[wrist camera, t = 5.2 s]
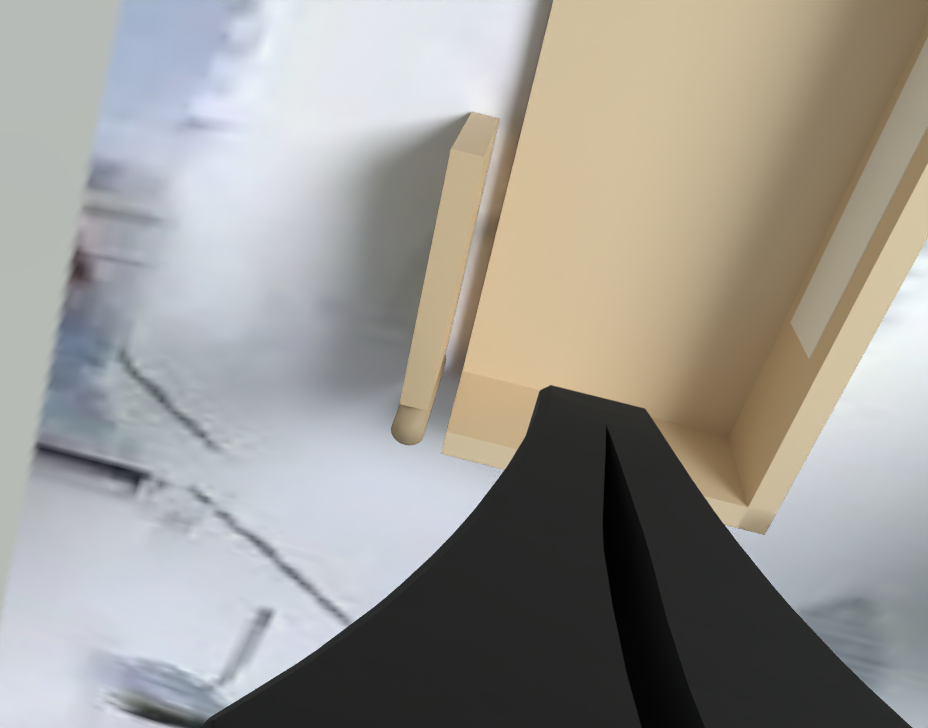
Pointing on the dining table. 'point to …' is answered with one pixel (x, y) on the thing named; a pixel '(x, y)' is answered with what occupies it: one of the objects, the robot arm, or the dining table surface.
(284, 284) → the dining table surface
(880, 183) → the open cardboard tray
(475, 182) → the flap
